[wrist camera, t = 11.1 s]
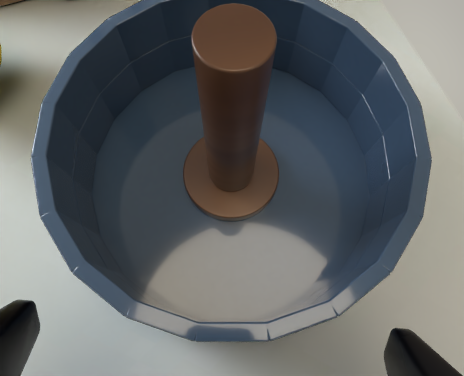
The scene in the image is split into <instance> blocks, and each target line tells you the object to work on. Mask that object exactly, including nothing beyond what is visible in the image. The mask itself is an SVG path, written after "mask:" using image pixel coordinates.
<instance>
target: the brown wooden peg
mask: <svg viewBox="0 0 464 376" xmlns="http://www.w3.org/2000/svg"><path fill="white" fill-rule="evenodd" d="M191 42H192V50H193V57H194V65H195V72H196V79H197V87H198V94H199V102H200V109H201V117H202V124H203V132H204V137H203V138H201V139H200V140H199V141H198V142H196V143H195V145H194V146H193V147H192V148H191V150H190V151H189V153H188V155H187V157H186V159H185V162H184V167H183V180H184V185H185V188H186V191H187V193H188V195H189V197H190V199H191V201H192V202H193V203H194V205H195V206H196V207H197V208H198V209H199V210H201V211H202V212H203V213H205V214H207V215H208V216H210V217H213V218H215V219H219V220H224V221H239V220H243V219H247V218H250V217H252V216H254V215H256V214H258V213H259V212H260V211H262V210H263V209H264V208H265V207H266V206H267V205H268V204H269V202H270V201H271V199H272V198H273V196H274V194H275V191H276V189H277V185H278V182H279V167H278V162H277V159H276V157H275V155H274V153H273V151H272V150H271V148H270V147H269V146H268V145H267V143H265V142H264V141H263V140H262V139H261V138H260V133H261V128H262V122H263V116H264V111H265V105H266V100H267V94H268V88H269V83H270V77H271V72H272V66H273V61H274V55H275V49H276V43H277V35H276V31H275V28H274V26H273V24H272V22H271V21H270V19H269V18H268V17H267V16H266V15H265V14H264V13H262V12H261V11H259V10H258V9H256V8H254V7H251V6H248V5H244V4H237V3H231V4H223V5H219V6H216V7H214V8H211V9H210V10H208V11H206V12H205V13H204V14H203V15H202V16H201V17H200V18H199V19H198V20H197V22H196V23H195V25H194V28H193V30H192V35H191Z"/></svg>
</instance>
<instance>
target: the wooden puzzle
mask: <svg viewBox="0 0 464 376" xmlns="http://www.w3.org/2000/svg"><path fill="white" fill-rule="evenodd" d="M18 1H22V0H0V6H3V5H7V4H11V3H14V2H18Z"/></svg>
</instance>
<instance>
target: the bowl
mask: <svg viewBox="0 0 464 376" xmlns="http://www.w3.org/2000/svg"><path fill="white" fill-rule="evenodd" d="M231 3H237V4H244V5H248V6H251V7H254V8H256V9H258V10H259V11H261V12H262V13H264V14H265V15H266V16H267V17H268V18H269V19H270V21H271V22H272V24H273V26H274V28H275V31H276V35H277V43H276V49H275V55H274V61H273V66H272V72H271V77H270V83H269V88H268V94H267V100H266V105H265V111H264V116H263V122H262V128H261V133H260V138H261V139H262V140H263V141H264V142H265V143H267V145H268V146H269V147H270V148H271V150H272V151H273V153H274V155H275V157H276V159H277V162H278V167H279V182H278V185H277V189H276V191H275V194H274V196H273V198H272V199H271V201H270V202H269V204H268V205H267V206H266V207H265V208H264V209H263V210H262V211H260V212H259V213H258V214H256V215H254V216H252V217H250V218H247V219H243V220H239V221H224V220H219V219H215V218H213V217H210V216H208V215H207V214H205V213H203V212H202V211H201V210H199V209H198V208H197V207H196V206H195V205H194V203H193V202H192V201H191V199H190V197H189V195H188V193H187V191H186V188H185V185H184V180H183V167H184V162H185V159H186V157H187V155H188V153H189V151H190V150H191V148H192V147H193V146H194V145H195V143H196V142H198V141H199V140H200V139H201V138H203V137H204V132H203V124H202V117H201V109H200V102H199V94H198V87H197V79H196V72H195V65H194V57H193V50H192V42H191V35H192V30H193V28H194V25H195V23H196V22H197V20H198V19H199V18H200V17H201V16H202V15H203V14H204V13H205V12H206V11H208V10H210V9H211V8H214V7H216V6H219V5H223V4H231ZM431 162H432V160H431V152H430V147H429V142H428V137H427V132H426V127H425V122H424V117H423V111H422V106H421V103H420V101H419V99H418V98H417V96H416V94H415V92H414V91H413V89H412V87H411V85H410V84H409V82H408V80H407V78H406V76H405V75H404V73H403V71H402V69H401V68H400V66H399V64H398V62H397V61H396V59H395V58H394V56H393V55H392V54H391V53H390V52H389V51H387V50H386V49H385V48H384V47H383V46H382V45H381V44H380V43H379V42H378V41H377V40H376V39H375V38H374V37H373V36H372V35H371V34H370V33H369V32H368V31H367V30H366V29H365V28H363V27H362V26H361V25H360V24H359V23H358V22H357V21H355V20H354V19H352V18H351V17H349V16H347V15H345V14H343V13H341V12H339V11H338V10H336V9H334V8H332V7H330V6H328V5H327V4H325V3H323V2H321V1H319V0H142V1H140V2H138V3H136V4H134V5H132V6H130V7H128V8H126V9H125V10H123V11H121V12H119V13H117V14H115V15H113V16H111V17H109V18H108V19H106V20H105V21H104V22H103V23H102V24H101V25H100V26H99V27H98V28H97V29H96V30H95V31H94V32H92V33H91V34H90V35H89V36H88V37H87V38H86V39H85V40H84V41H83V42H82V43H81V44H80V45H79V46H77V47H76V48H75V49H74V50H73V51H72V52H71V53H70V54H69V56H68V57H67V59H66V61H65V62H64V64H63V66H62V68H61V69H60V71H59V73H58V74H57V76H56V78H55V80H54V81H53V83H52V85H51V87H50V88H49V90H48V92H47V94H46V95H45V97H44V99H43V101H42V103H41V108H40V113H39V118H38V123H37V128H36V133H35V138H34V143H33V148H32V153H31V164H32V170H33V177H34V183H35V189H36V196H37V202H38V208H39V215H40V217H41V220H42V222H43V223H44V225H45V227H46V229H47V230H48V232H49V234H50V236H51V237H52V239H53V241H54V243H55V244H56V246H57V248H58V250H59V251H60V253H61V255H62V257H63V258H64V260H65V262H66V264H67V265H68V267H69V269H70V271H71V272H72V273H73V274H74V275H75V276H76V277H77V278H78V279H80V280H81V281H82V282H83V283H85V284H86V285H87V286H88V287H89V288H91V289H92V290H93V291H94V292H95V293H97V294H98V295H99V296H100V297H101V298H103V299H104V300H105V301H106V302H108V303H109V304H110V305H111V306H112V307H114V308H115V309H116V310H117V311H118V312H120V313H121V314H122V315H123V316H126V317H127V318H129V319H132V320H134V321H137V322H140V323H143V324H146V325H149V326H151V327H154V328H157V329H160V330H163V331H165V332H168V333H171V334H174V335H177V336H180V337H182V338H185V339H188V340H191V341H196V342H268V341H273V340H276V339H279V338H282V337H284V336H287V335H290V334H293V333H296V332H298V331H301V330H304V329H307V328H310V327H312V326H315V325H318V324H321V323H324V322H326V321H329V320H332V319H335V318H337V316H341V315H342V314H343V313H344V312H345V311H347V310H348V309H349V308H350V307H351V306H353V305H354V304H355V303H356V302H357V301H359V300H360V299H361V298H362V297H363V296H365V295H366V294H367V293H368V292H369V291H371V290H372V289H373V288H374V287H375V286H377V285H378V284H379V283H380V282H381V281H383V280H384V279H385V278H386V277H387V276H389V275H390V273H391V272H392V271H393V269H394V268H395V266H396V264H397V262H398V261H399V259H400V257H401V255H402V254H403V252H404V250H405V248H406V247H407V245H408V243H409V241H410V240H411V238H412V236H413V234H414V233H415V231H416V229H417V227H418V225H419V224H420V222H421V220H422V217H423V214H424V207H425V201H426V194H427V188H428V182H429V175H430V169H431Z"/></svg>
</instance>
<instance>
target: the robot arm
mask: <svg viewBox="0 0 464 376" xmlns="http://www.w3.org/2000/svg"><path fill="white" fill-rule="evenodd" d="M39 331H40V322H39V318H38V313H37V309H36V305H35V303H34V302H33V301H29V300H16V301H13V302H12V303H10V304H8V305H7V306H5V307H3V308H2V309H0V376H21V373H22V371H23V369H24V366H25V364H26V362H27V360H28V357H29V355H30V353H31V350H32V348H33V346H34V344H35V341H36V339H37V337H38V334H39ZM384 361H385V366H386V370H387V375H388V376H462V375H461V374H460V373H459V372H458V371H457V370H456V369H454V368H453V367H452V366H451V365H450V364H449V363H448V362H447V361H445V360H444V359H443V358H442V357H441V356H440V355H439V354H438V353H436V352H435V351H434V350H433V349H432V348H431V347H430V346H429V345H427V344H426V343H425V342H424V341H423V340H422V339H421V338H420V337H418V336H417V335H416V334H415V333H414V332H413V331H411V330H409V329H400V328H394V329H393V330H392V331H391V333H390V336H389V339H388V342H387V345H386V348H385V351H384Z"/></svg>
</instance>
